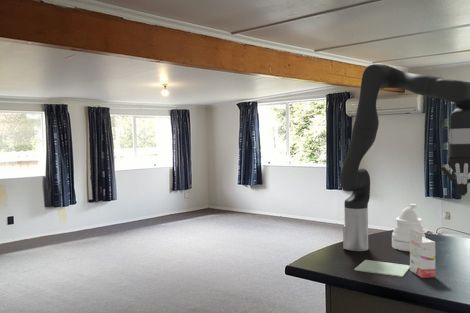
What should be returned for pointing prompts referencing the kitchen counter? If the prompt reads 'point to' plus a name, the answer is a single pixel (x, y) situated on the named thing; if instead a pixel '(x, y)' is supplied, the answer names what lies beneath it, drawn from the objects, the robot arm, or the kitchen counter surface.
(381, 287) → the kitchen counter surface
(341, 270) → the kitchen counter surface
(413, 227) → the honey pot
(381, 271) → the mat
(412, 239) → the ink cartridge box
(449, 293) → the kitchen counter surface
